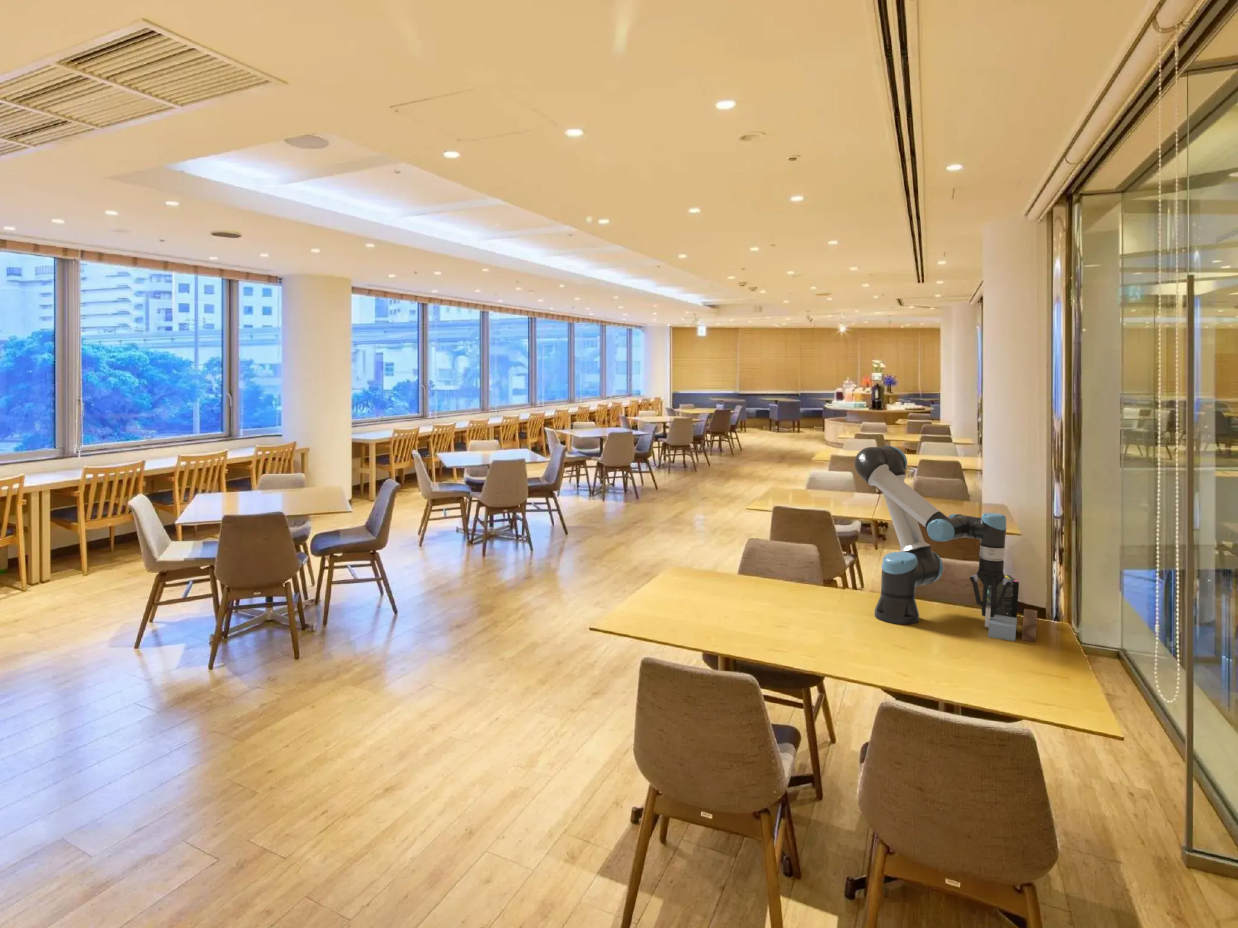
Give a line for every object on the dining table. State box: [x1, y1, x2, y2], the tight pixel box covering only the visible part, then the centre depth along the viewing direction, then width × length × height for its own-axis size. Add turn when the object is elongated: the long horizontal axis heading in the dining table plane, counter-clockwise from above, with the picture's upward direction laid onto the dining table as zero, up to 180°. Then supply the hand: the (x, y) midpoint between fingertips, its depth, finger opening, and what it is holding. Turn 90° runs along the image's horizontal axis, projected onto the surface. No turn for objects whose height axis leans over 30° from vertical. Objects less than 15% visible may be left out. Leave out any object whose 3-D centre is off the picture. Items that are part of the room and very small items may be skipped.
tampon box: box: [981, 574, 1020, 619], centre depth 269 cm, size 11×9×15 cm
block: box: [987, 615, 1018, 642], centre depth 249 cm, size 8×12×5 cm, turn 150°
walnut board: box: [1021, 608, 1038, 643], centre depth 251 cm, size 4×18×6 cm, turn 150°
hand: (987, 625), depth 252 cm, fingers closed
